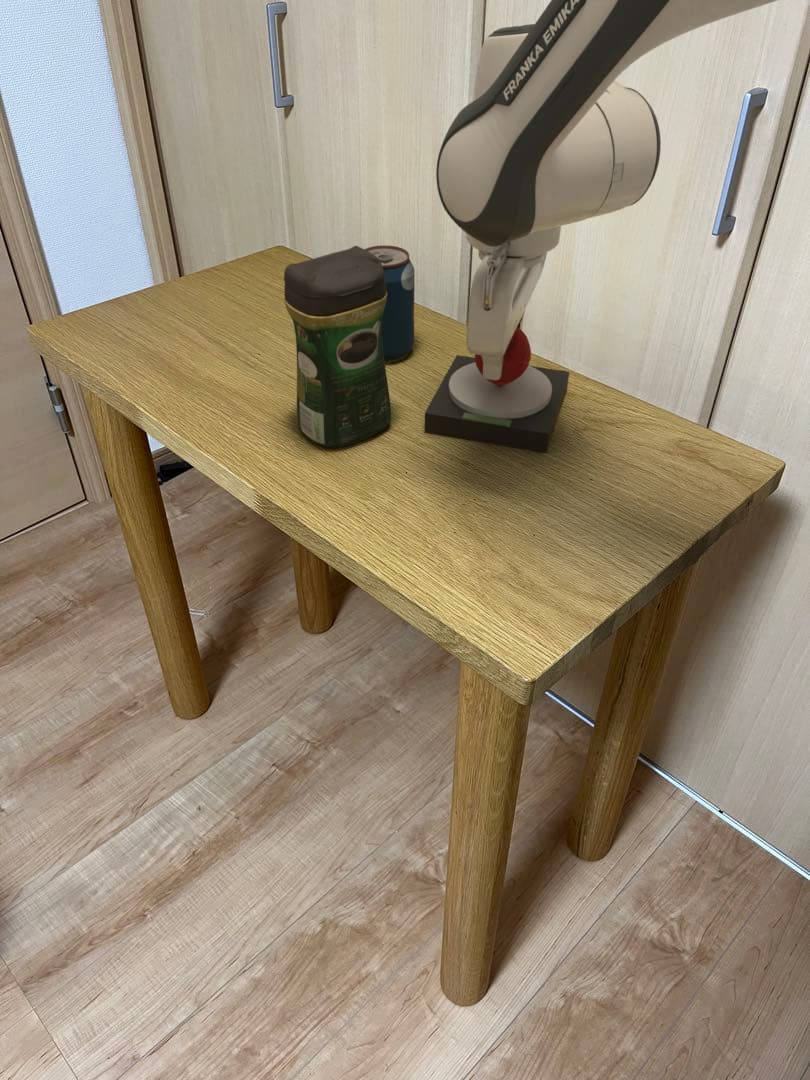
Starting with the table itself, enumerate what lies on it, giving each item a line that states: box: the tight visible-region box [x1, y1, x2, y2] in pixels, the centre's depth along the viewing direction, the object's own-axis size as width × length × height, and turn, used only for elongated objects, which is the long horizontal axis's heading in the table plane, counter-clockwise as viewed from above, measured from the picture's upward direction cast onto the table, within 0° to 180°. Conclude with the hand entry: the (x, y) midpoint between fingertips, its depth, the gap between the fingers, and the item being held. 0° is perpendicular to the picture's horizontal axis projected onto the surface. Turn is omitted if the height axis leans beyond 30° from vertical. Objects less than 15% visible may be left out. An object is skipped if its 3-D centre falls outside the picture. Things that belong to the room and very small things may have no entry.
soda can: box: [364, 244, 415, 364], centre depth 99 cm, size 7×7×12 cm
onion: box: [474, 326, 532, 386], centre depth 88 cm, size 6×6×8 cm
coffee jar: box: [283, 245, 392, 449], centre depth 84 cm, size 10×8×19 cm
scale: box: [424, 354, 570, 454], centre depth 92 cm, size 13×13×3 cm
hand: (503, 354), depth 88 cm, fingers open, 8 cm apart
